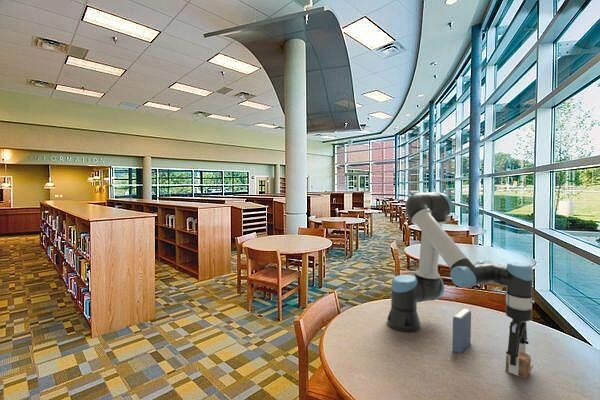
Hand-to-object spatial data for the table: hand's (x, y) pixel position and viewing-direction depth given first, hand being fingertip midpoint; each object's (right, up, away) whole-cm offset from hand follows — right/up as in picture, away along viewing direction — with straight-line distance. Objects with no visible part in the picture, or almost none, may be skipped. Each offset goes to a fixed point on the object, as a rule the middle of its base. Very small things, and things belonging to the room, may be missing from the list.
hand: (517, 366), depth 106 cm
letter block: (0, -1, 0) cm, 1 cm away
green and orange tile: (0, -2, 0) cm, 2 cm away
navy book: (-11, -1, +16) cm, 20 cm away
